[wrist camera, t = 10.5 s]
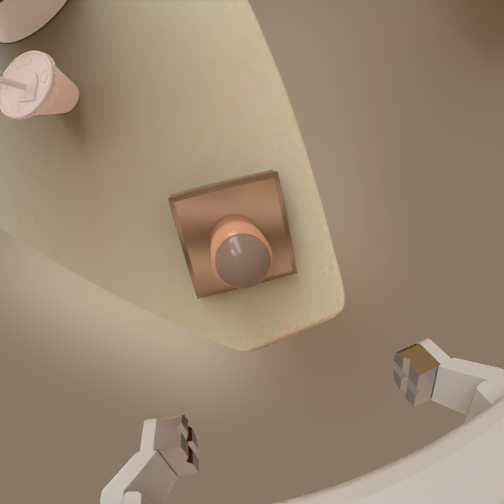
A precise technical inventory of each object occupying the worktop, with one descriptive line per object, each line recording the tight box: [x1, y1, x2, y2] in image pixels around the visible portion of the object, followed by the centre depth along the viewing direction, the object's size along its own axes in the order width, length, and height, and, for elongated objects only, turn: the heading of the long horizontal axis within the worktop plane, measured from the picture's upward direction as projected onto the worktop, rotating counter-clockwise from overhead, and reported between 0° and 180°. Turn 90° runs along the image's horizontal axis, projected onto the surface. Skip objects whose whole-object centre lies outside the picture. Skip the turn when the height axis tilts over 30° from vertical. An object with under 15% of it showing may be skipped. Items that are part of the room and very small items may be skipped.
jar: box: [210, 214, 273, 288], centre depth 28 cm, size 5×5×7 cm
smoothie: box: [0, 51, 79, 120], centre depth 21 cm, size 6×6×14 cm
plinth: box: [168, 170, 297, 298], centre depth 33 cm, size 11×11×3 cm
